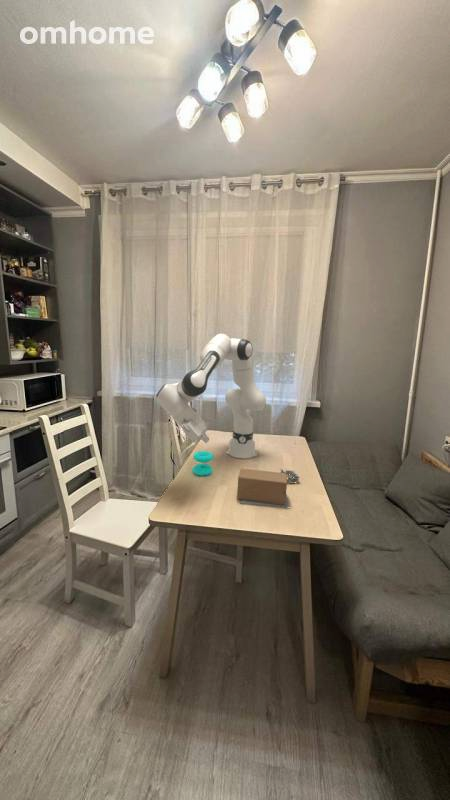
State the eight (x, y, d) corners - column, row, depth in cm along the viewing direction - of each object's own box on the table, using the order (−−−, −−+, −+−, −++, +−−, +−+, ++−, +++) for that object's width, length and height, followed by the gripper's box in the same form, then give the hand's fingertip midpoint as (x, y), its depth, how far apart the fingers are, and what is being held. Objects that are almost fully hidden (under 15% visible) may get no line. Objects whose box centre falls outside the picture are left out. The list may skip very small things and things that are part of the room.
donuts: (193, 457, 149) (193, 450, 158) (193, 476, 150) (192, 468, 160) (214, 457, 150) (212, 450, 160) (213, 476, 152) (211, 468, 162)
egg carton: (278, 475, 158) (278, 468, 157) (292, 475, 159) (292, 467, 158) (285, 484, 148) (286, 476, 147) (300, 484, 149) (301, 476, 148)
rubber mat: (241, 488, 141) (241, 487, 141) (285, 492, 140) (285, 490, 140) (240, 503, 127) (240, 502, 127) (289, 508, 126) (289, 506, 126)
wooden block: (236, 499, 130) (285, 505, 127) (238, 476, 128) (287, 482, 125) (239, 488, 139) (284, 494, 136) (240, 467, 138) (286, 472, 135)
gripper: (186, 418, 120) (210, 444, 121) (195, 407, 140) (215, 430, 141) (174, 428, 121) (198, 454, 122) (185, 416, 141) (205, 438, 142)
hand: (207, 441), depth 132 cm, fingers closed
